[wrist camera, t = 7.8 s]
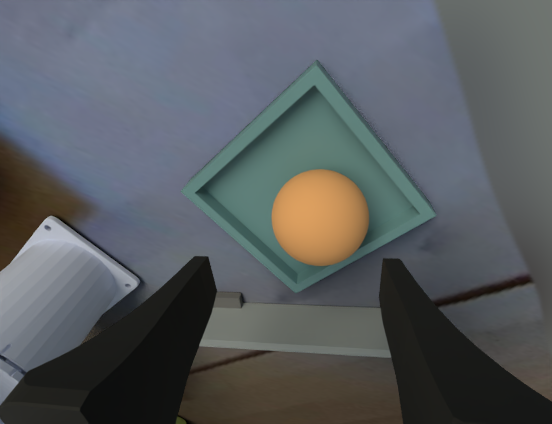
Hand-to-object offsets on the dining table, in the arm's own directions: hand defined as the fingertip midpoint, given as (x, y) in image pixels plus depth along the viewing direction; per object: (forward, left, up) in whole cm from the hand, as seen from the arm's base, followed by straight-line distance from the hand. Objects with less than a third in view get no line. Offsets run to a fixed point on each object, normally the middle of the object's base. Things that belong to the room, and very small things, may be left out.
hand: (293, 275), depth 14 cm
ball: (+1, -1, -4) cm, 5 cm away
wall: (-6, -8, -7) cm, 13 cm away
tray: (0, 0, -7) cm, 7 cm away
